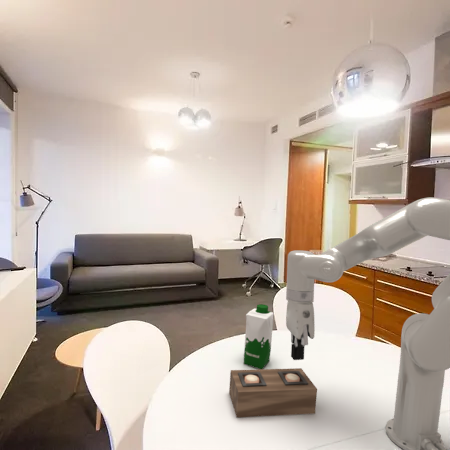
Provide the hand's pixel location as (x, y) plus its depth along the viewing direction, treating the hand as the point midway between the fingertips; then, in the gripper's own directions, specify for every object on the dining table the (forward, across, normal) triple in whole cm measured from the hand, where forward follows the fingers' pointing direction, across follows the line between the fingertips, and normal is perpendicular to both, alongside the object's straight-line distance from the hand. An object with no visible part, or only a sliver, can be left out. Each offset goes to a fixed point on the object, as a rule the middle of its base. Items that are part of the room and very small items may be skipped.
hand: (297, 358), depth 94 cm
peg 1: (+12, +1, +13) cm, 18 cm away
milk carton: (+13, +24, +5) cm, 28 cm away
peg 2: (+13, +1, +1) cm, 13 cm away
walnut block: (+13, +1, +7) cm, 15 cm away
